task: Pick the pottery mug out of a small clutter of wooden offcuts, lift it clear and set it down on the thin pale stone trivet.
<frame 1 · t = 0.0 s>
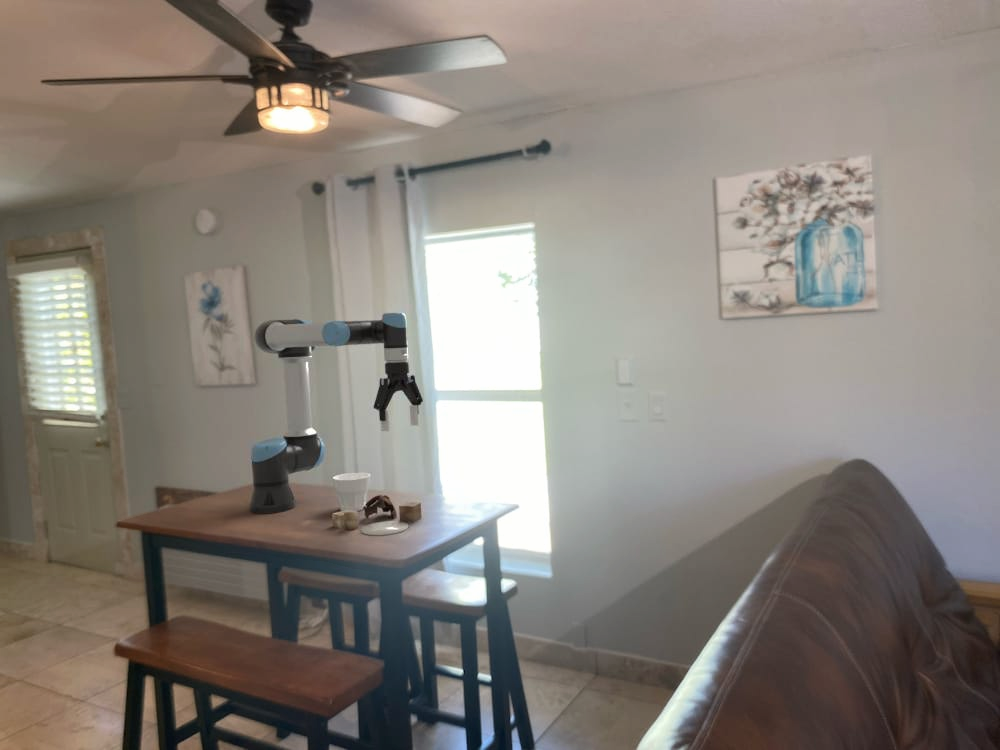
hand: (400, 428, 232), 28 cm above the table, fingers open, 13 cm apart
oak dowel offcut: (351, 528, 220), on the table
pottery mug: (382, 517, 232), on the table
walnut block: (410, 520, 227), on the table
trivet: (384, 528, 218), on the table
cup: (353, 509, 245), on the table
maple block: (345, 525, 225), on the table
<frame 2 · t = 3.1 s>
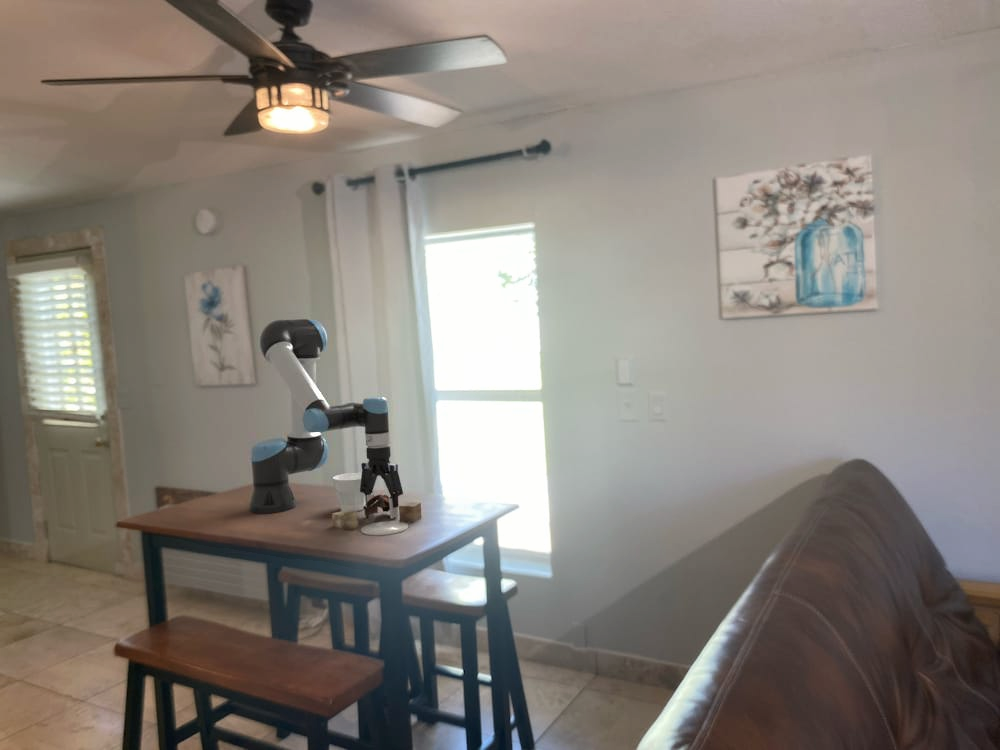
hand: (382, 515, 232), 0 cm above the table, fingers closed on pottery mug, 9 cm apart
pottery mug: (382, 517, 232), on the table, touching gripper
everything else where it was.
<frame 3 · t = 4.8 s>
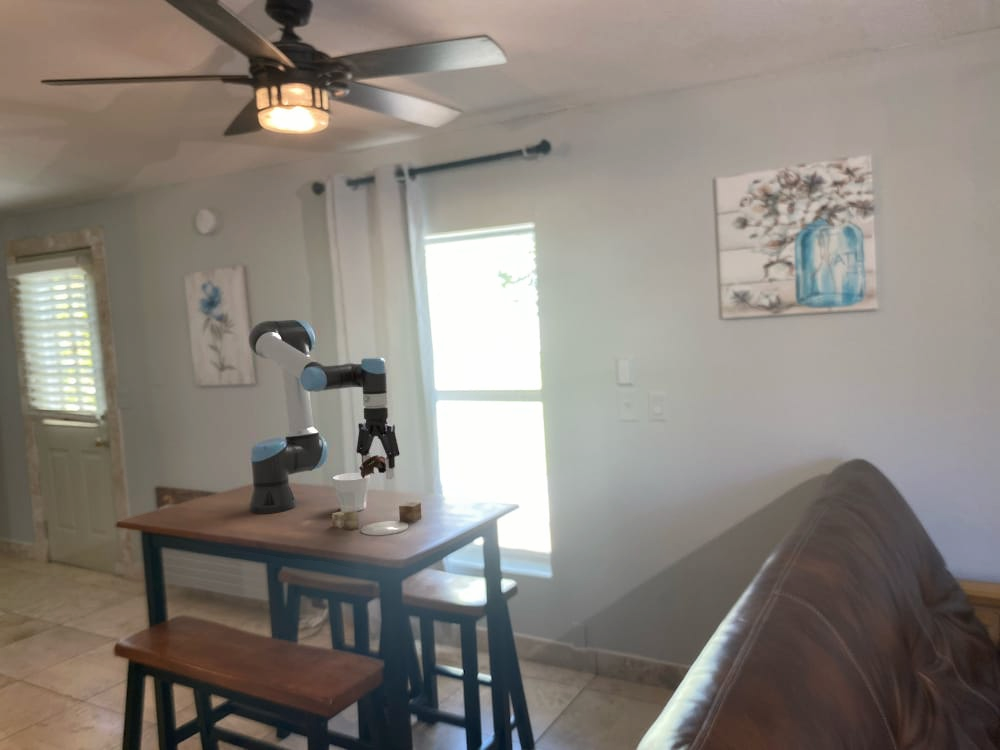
hand: (378, 476, 232), 13 cm above the table, fingers closed on pottery mug, 9 cm apart
pottery mug: (378, 478, 232), point 12 cm above the table, touching gripper
everything else where it was.
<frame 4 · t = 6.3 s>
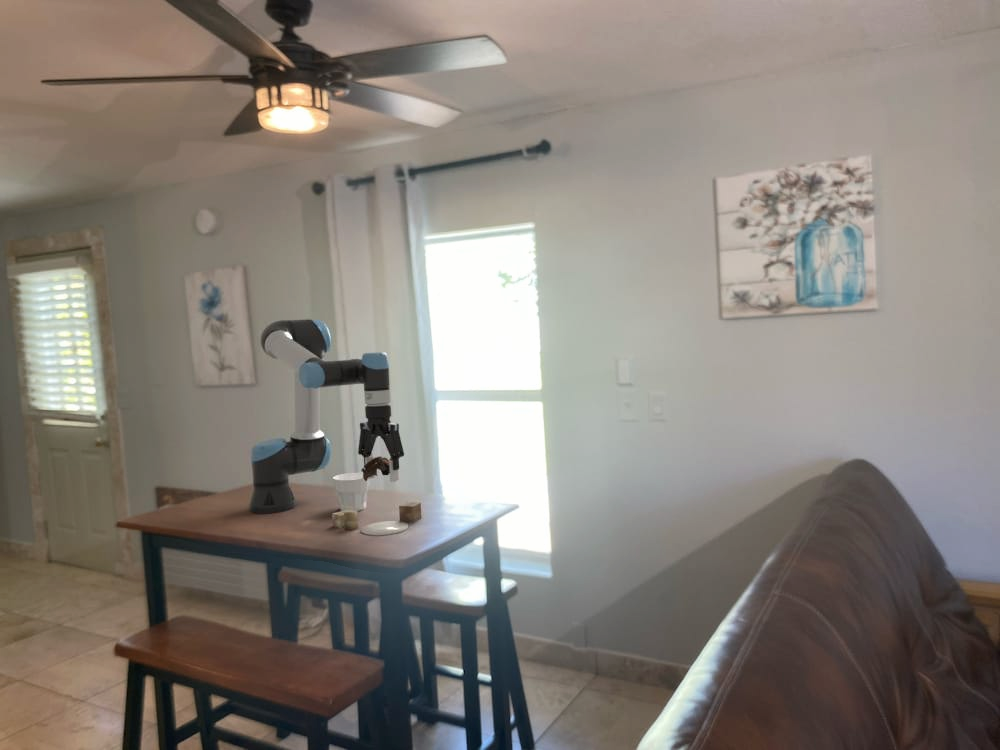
hand: (382, 479, 217), 15 cm above the table, fingers closed on pottery mug, 9 cm apart
pottery mug: (381, 481, 217), point 14 cm above the table, touching gripper
everything else where it was.
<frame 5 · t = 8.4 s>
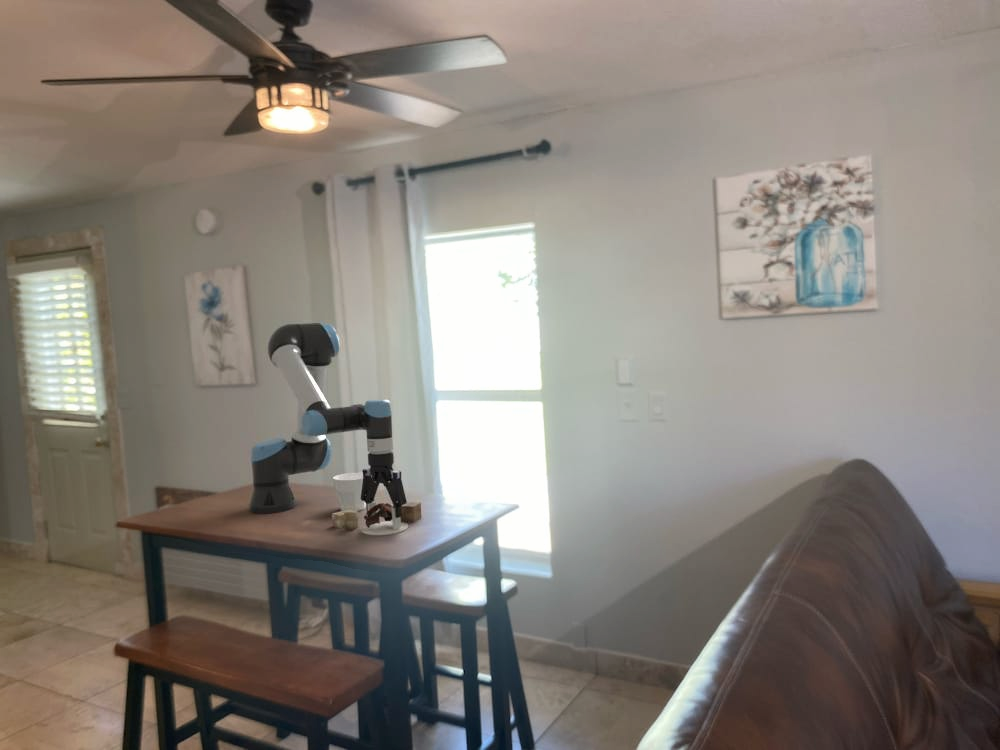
hand: (384, 526, 218), 1 cm above the table, fingers closed on pottery mug, 9 cm apart
pottery mug: (384, 527, 218), resting on trivet, touching gripper
everything else where it was.
when the fingers open (1 cm above the table, at t = 9.7 s): pottery mug stays where it is, resting on trivet.
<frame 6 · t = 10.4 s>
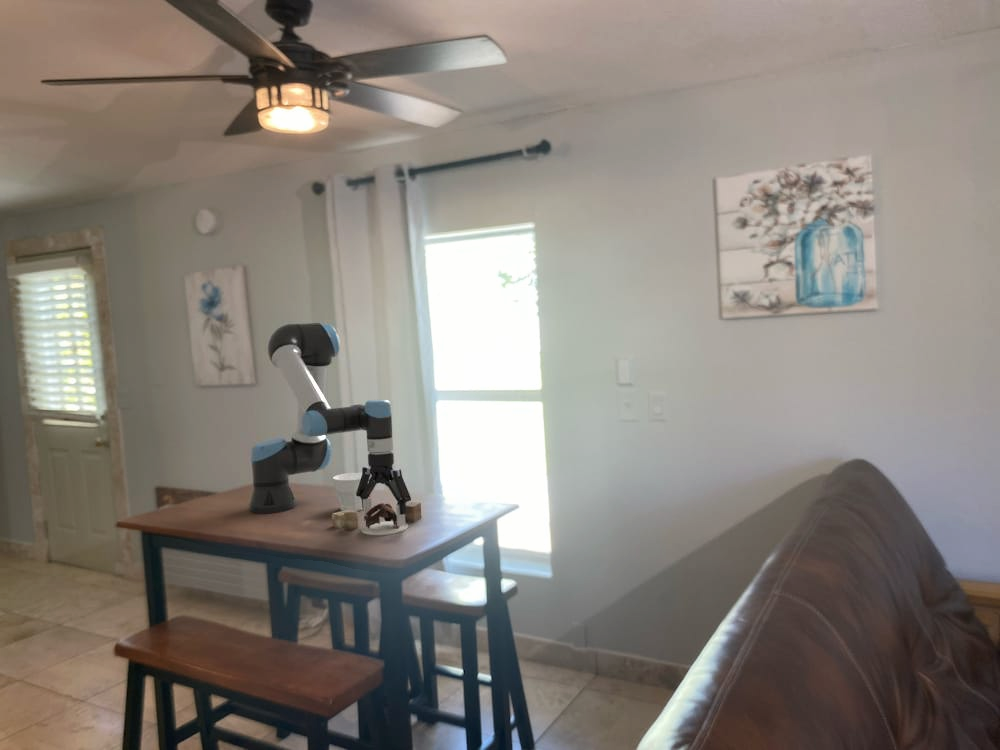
hand: (384, 522, 218), 2 cm above the table, fingers open, 13 cm apart
pottery mug: (384, 527, 218), resting on trivet
everything else where it was.
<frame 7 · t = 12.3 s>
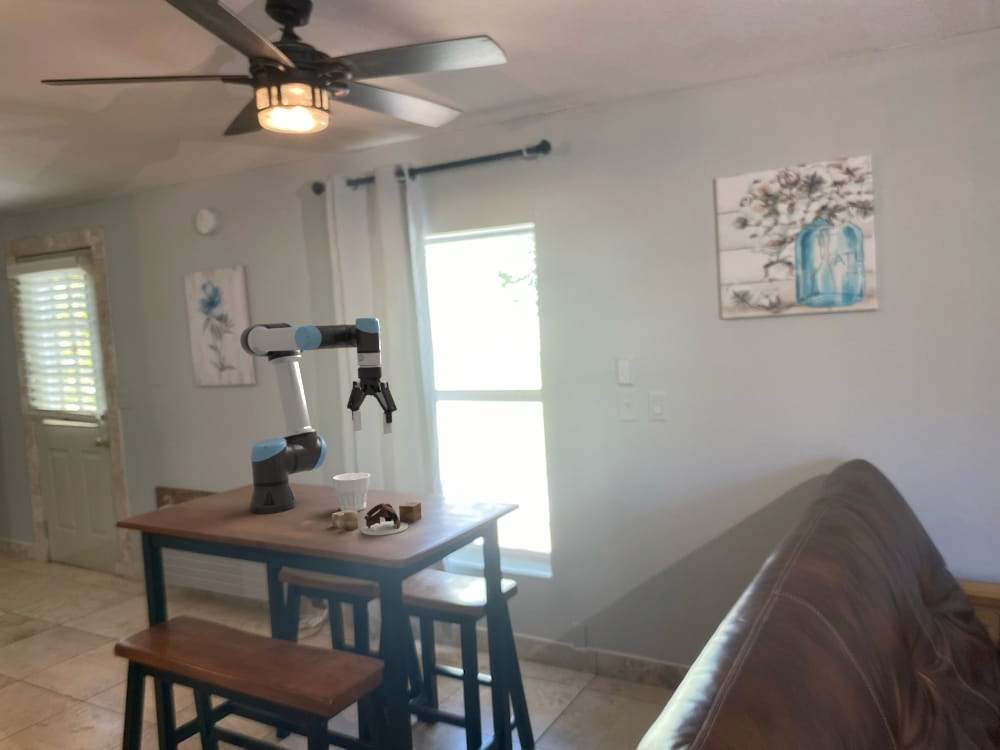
hand: (372, 432, 234), 27 cm above the table, fingers open, 13 cm apart
nothing on the table moved.
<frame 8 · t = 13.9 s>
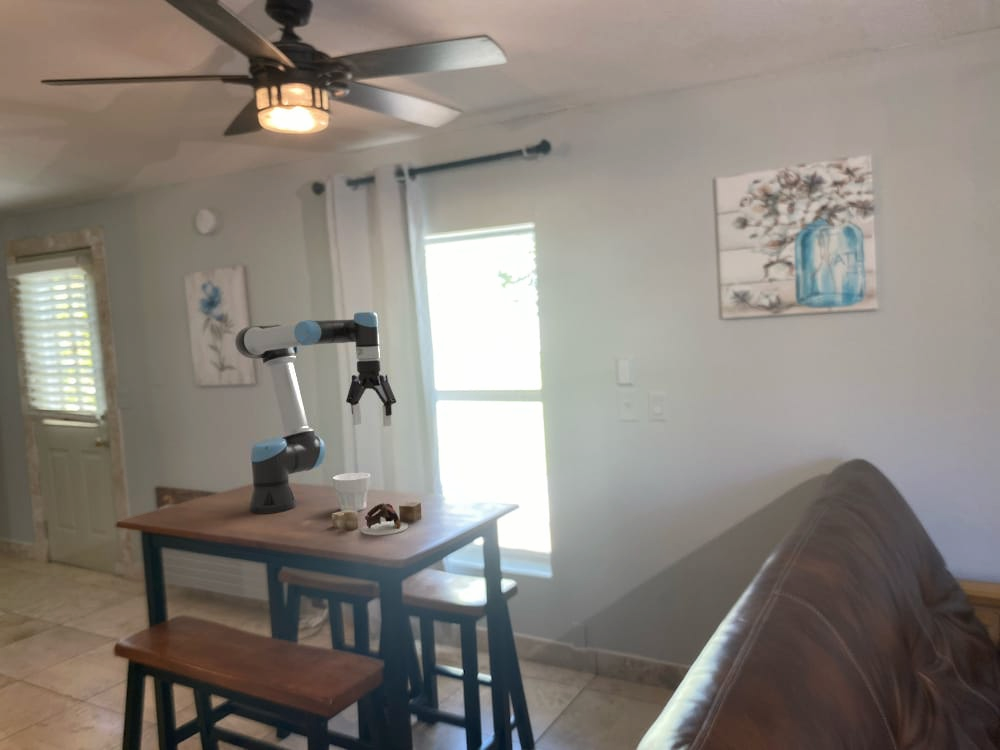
hand: (372, 425, 237), 29 cm above the table, fingers open, 13 cm apart
nothing on the table moved.
at the end: pottery mug 0.3 cm from the trivet (horizontally); pottery mug touching trivet; pottery mug tilted 1° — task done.
